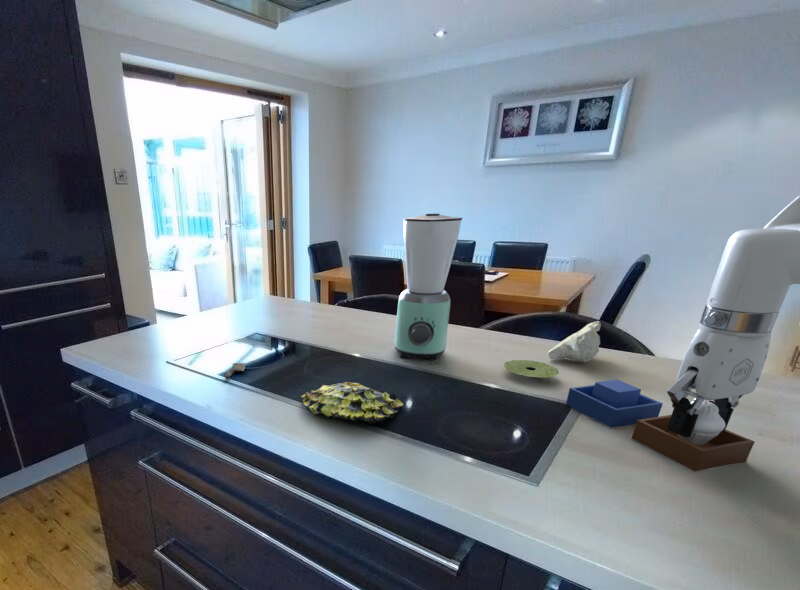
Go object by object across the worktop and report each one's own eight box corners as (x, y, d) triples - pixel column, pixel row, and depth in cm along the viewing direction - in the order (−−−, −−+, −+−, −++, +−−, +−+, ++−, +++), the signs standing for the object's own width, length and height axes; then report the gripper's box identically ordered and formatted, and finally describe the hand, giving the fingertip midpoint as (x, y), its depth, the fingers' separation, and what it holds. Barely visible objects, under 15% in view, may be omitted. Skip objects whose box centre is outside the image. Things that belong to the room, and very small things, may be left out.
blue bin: (607, 398, 90) (612, 382, 88) (656, 421, 80) (662, 403, 79) (565, 404, 88) (569, 387, 86) (611, 428, 78) (616, 410, 77)
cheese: (569, 378, 105) (633, 340, 100) (550, 353, 106) (611, 314, 101) (554, 374, 119) (609, 341, 115) (537, 353, 120) (590, 319, 116)
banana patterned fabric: (282, 413, 88) (283, 381, 88) (328, 406, 101) (329, 377, 100) (371, 427, 76) (372, 389, 75) (411, 416, 88) (412, 384, 88)
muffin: (673, 445, 69) (687, 405, 67) (661, 428, 74) (674, 390, 72) (724, 453, 67) (741, 412, 64) (708, 434, 72) (723, 395, 69)
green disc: (539, 389, 95) (541, 380, 94) (492, 373, 103) (493, 365, 103) (567, 377, 100) (569, 369, 99) (520, 363, 109) (521, 356, 108)
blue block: (610, 402, 86) (616, 379, 85) (633, 413, 82) (641, 389, 80) (588, 405, 85) (595, 382, 84) (611, 417, 81) (619, 392, 79)
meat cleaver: (253, 365, 112) (236, 364, 114) (253, 361, 112) (235, 359, 114) (231, 380, 102) (212, 379, 104) (231, 376, 102) (212, 374, 103)
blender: (446, 366, 108) (466, 214, 95) (391, 362, 112) (402, 215, 98) (443, 343, 125) (459, 211, 112) (395, 340, 129) (405, 212, 115)
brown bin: (678, 430, 77) (684, 412, 76) (746, 461, 68) (755, 441, 66) (631, 438, 75) (637, 419, 74) (694, 471, 66) (702, 451, 64)
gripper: (719, 332, 58) (676, 450, 65) (814, 320, 61) (764, 433, 68) (662, 319, 65) (629, 426, 72) (751, 309, 68) (711, 412, 75)
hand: (695, 429), depth 70 cm, fingers closed on muffin, 6 cm apart
